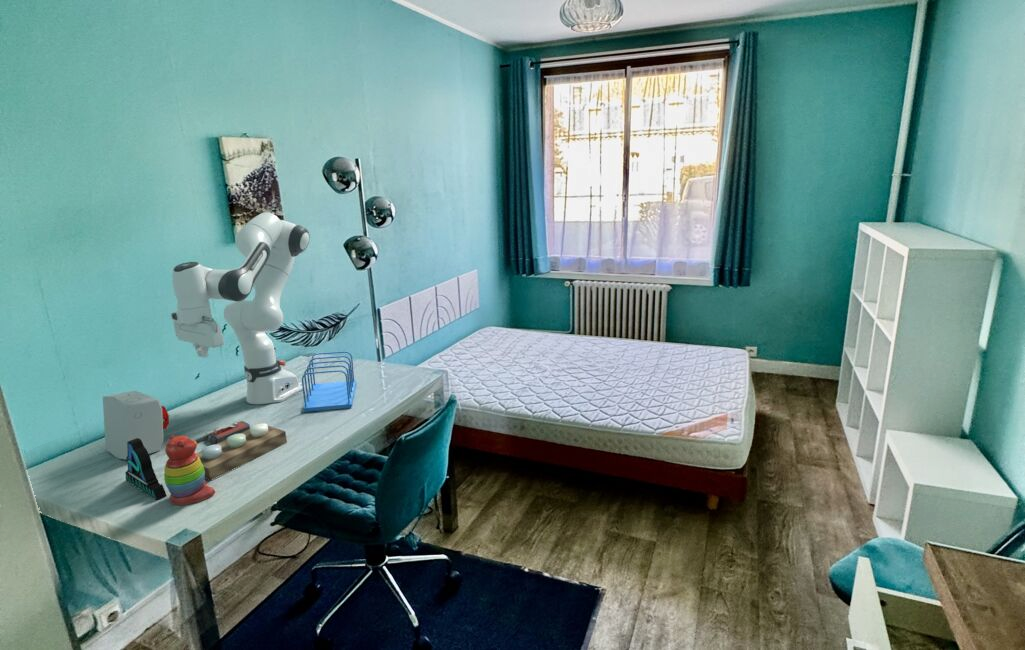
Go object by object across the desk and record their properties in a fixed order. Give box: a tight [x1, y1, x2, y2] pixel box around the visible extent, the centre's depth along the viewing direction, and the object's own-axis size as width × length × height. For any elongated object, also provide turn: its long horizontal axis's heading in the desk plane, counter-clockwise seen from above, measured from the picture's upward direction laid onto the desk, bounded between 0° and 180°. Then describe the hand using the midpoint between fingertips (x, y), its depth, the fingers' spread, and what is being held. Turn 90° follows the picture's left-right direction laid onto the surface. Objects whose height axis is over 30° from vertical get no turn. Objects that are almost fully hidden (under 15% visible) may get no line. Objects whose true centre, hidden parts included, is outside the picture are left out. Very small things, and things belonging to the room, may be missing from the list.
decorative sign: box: [125, 438, 167, 502], centre depth 150 cm, size 19×2×15 cm, turn 56°
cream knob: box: [250, 422, 269, 437], centre depth 174 cm, size 5×5×5 cm
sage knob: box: [227, 434, 246, 448], centre depth 167 cm, size 5×5×5 cm
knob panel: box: [195, 425, 288, 481], centre depth 168 cm, size 26×12×4 cm, turn 150°
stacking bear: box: [163, 434, 216, 506], centre depth 145 cm, size 11×10×18 cm
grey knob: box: [201, 444, 222, 460], centre depth 160 cm, size 5×5×5 cm
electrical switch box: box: [102, 390, 170, 460], centre depth 173 cm, size 15×15×20 cm
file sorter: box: [301, 350, 357, 413], centre depth 209 cm, size 25×17×15 cm
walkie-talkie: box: [193, 420, 251, 445], centre depth 179 cm, size 9×4×20 cm
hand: (203, 356), depth 172 cm, fingers closed
